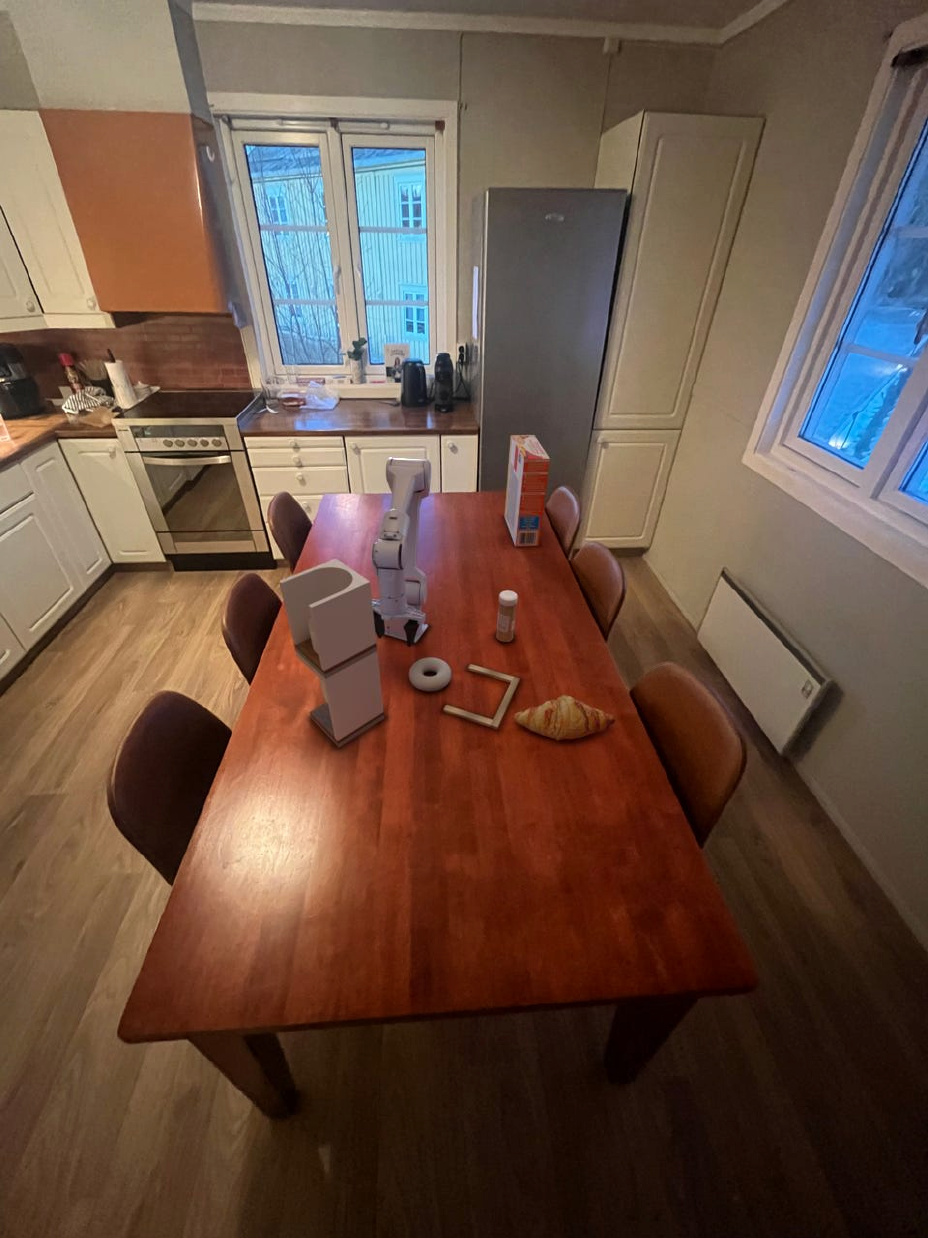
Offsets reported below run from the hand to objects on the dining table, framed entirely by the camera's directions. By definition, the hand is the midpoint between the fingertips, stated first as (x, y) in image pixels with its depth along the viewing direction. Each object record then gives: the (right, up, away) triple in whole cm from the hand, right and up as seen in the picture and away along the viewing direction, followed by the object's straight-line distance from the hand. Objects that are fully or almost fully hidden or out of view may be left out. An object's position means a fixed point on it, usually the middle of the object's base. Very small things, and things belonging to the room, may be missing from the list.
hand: (395, 640), depth 116 cm
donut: (+8, -9, +2) cm, 12 cm away
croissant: (+37, -18, -8) cm, 42 cm away
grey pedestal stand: (-9, -17, -8) cm, 21 cm away
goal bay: (+20, -13, -2) cm, 23 cm away
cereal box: (+36, +36, +64) cm, 82 cm away
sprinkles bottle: (+26, 0, +15) cm, 30 cm away
